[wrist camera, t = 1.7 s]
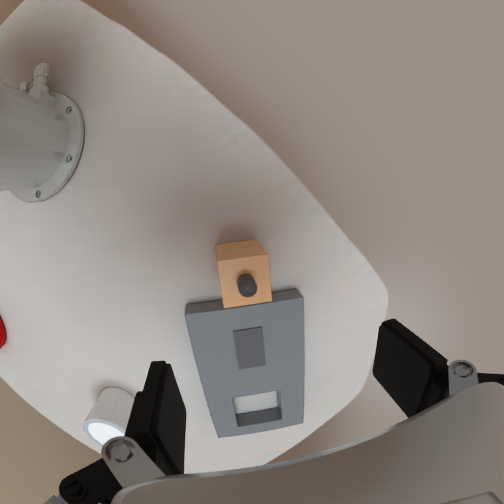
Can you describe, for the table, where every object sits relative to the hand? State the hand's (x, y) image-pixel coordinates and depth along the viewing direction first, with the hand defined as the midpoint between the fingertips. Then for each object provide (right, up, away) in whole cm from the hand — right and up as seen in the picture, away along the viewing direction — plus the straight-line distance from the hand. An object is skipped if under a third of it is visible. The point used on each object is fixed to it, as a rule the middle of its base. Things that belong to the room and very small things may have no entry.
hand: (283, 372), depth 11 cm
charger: (-3, +4, +17) cm, 18 cm away
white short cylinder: (-20, -16, +19) cm, 32 cm away
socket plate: (-1, -9, +21) cm, 23 cm away
